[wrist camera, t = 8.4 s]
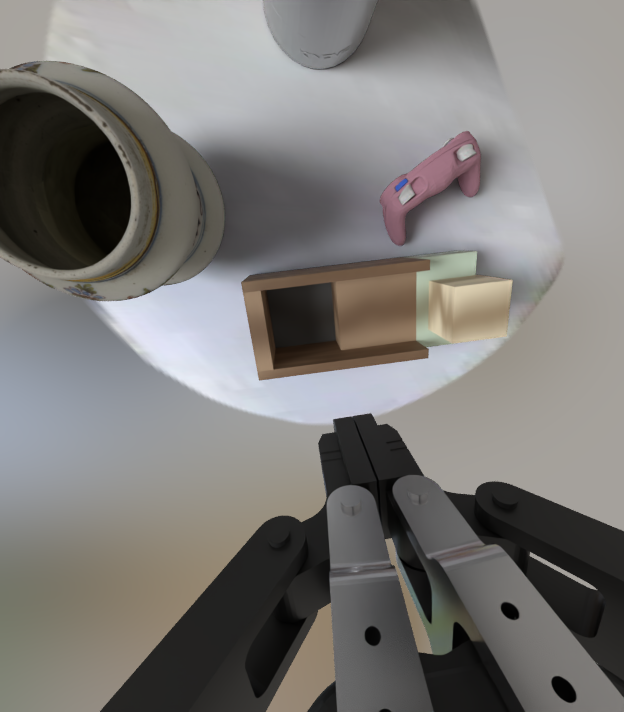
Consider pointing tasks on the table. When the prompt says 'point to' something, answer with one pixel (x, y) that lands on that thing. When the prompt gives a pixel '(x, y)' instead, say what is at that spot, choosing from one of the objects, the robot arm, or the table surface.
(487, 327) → the maple block
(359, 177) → the table surface
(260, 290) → the channel
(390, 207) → the video game controller
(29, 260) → the apothecary jar
